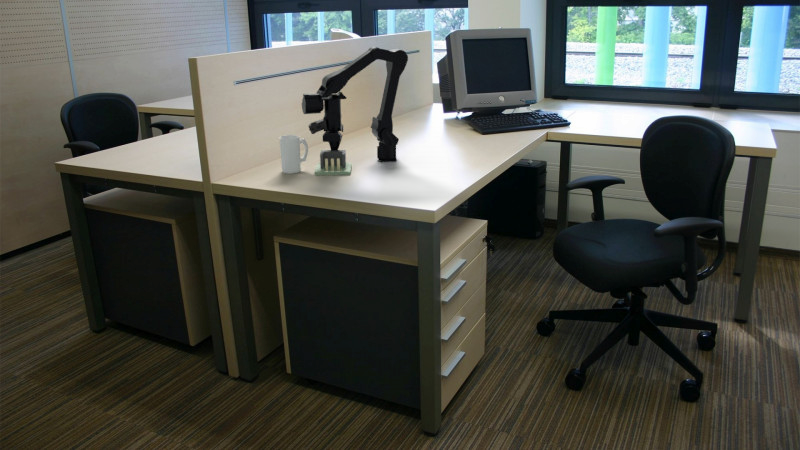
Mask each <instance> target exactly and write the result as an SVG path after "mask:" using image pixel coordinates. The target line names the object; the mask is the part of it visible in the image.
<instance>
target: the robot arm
mask: <svg viewBox="0 0 800 450" xmlns="http://www.w3.org/2000/svg"><path fill="white" fill-rule="evenodd" d="M376 60H381V61H385V67H386V78H385V84H384V87H383V88H384V89H383V94H382V97H381V99H382V100H381V103H380V108H379V113H378V114H377V116H376V117H375V116H372V119H371V121H372V122H371V126H370V127H369V128H370V129H371V133H372V136H374V137H375V138H376V140H377V142H378V145H377V146H376V148H377V150H376V153H377V155H376V156H377V157H376V158H377V159H378V162H397V145H398V144H399V137H397V136H396V135H395V133H393V132H394V131H393V130H394V129H393V128H394V126H393V125H394V123H393V116H392V115H393V111H394V106H395V101H396V96H397V91H398V87H399V83H400V77H401V75H403V72H404V71H405V69H406V66H407V63H408V61H409V56H408V53H407V52H406V51H405V50H402V49H400V48H399V49H398V48H392V49H389V50H388V49H384V48H379V47H376V46H370V47H369V48H368V49H367V50H366V51H365V52H363V53H362V54H360V55H358V57H356V58H355V59H353V60H352V61H351V62H349V63H348V64H346V65H345V66H344V67H343V68H341V69H338V70H335V71H333V72H331V73H329V74H326V75H325V76H323V78H322V80H321V85H320V86H319V88H318V89H317V91H316V93H303V94H302V100H301V101H302V102H301V108H302V109H301V111H302V114H303V115H314V114H321V113H322V112H323V111H324V115H323V118H321V119H319V120H315V121H314V122H313V121H312V122H310V123H309V124H308V128H309V129H308V130H309V131H310V133H311V135H315V134H316V133H318V132H321V131H323V132H324V133H323V134H322V142H323V143H328V144H329V147H330V150H339V148H340V145H341V143H342V140H343V134H342V133H344V132H345V131H344V124H342V108H341V107H342V105H341V104H342V103H341V100H347V96H346V95H344V94H343V92H342V91H341V90H342V89H344V88H345V86H346V85H347V84H348V82H349V81H350V79H352V78H353V77H355V76H356V75H357V74H358V73H360V72H361V71H362V70H364V69H366V68H367V67H368V66H370V65H371V64H372V63H374V62H375V61H376Z"/></svg>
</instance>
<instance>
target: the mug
mask: <svg viewBox="0 0 800 450" xmlns="http://www.w3.org/2000/svg"><path fill="white" fill-rule="evenodd" d="M301 144H302V145H303V146H304V153H303V155H302V157H301ZM279 148H280V150H279V151H280V162H281V169H282V170H281V171H282V173H283V174H287V175H289V174H291V175H292V174H297V173H300V172H301V169H302V168H301V164H302V162H306V160H307V156H308V154H309V146H308V143H307V141H306V139H305V138H304V137H303V138H300V135H297V134H285V135H284V134H283V135H281V136H279Z"/></svg>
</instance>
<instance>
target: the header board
mask: <svg viewBox="0 0 800 450" xmlns="http://www.w3.org/2000/svg"><path fill="white" fill-rule="evenodd" d="M351 172H352V162H346V168H343V166H340V159H337V166H334V159H331V166H328V159H325V166H324V169H321V165H320V162H317V163H316V166H315V169H314V176H329V175H331V176H338V175H340V176H344V175H345V176H348V175H351Z"/></svg>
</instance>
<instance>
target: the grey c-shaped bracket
mask: <svg viewBox="0 0 800 450" xmlns="http://www.w3.org/2000/svg"><path fill="white" fill-rule="evenodd" d="M346 151H347V150H346V149H338V150H331V149H329V150H327V149H325V150H324V149H323V150H320V154H319V161H320V162H319V163H320V165H321V169H324V166H325V159H328V166H331V159H334V166H337V159H340V166H343V168H346V163H347V154H346V153H347V152H346Z"/></svg>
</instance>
